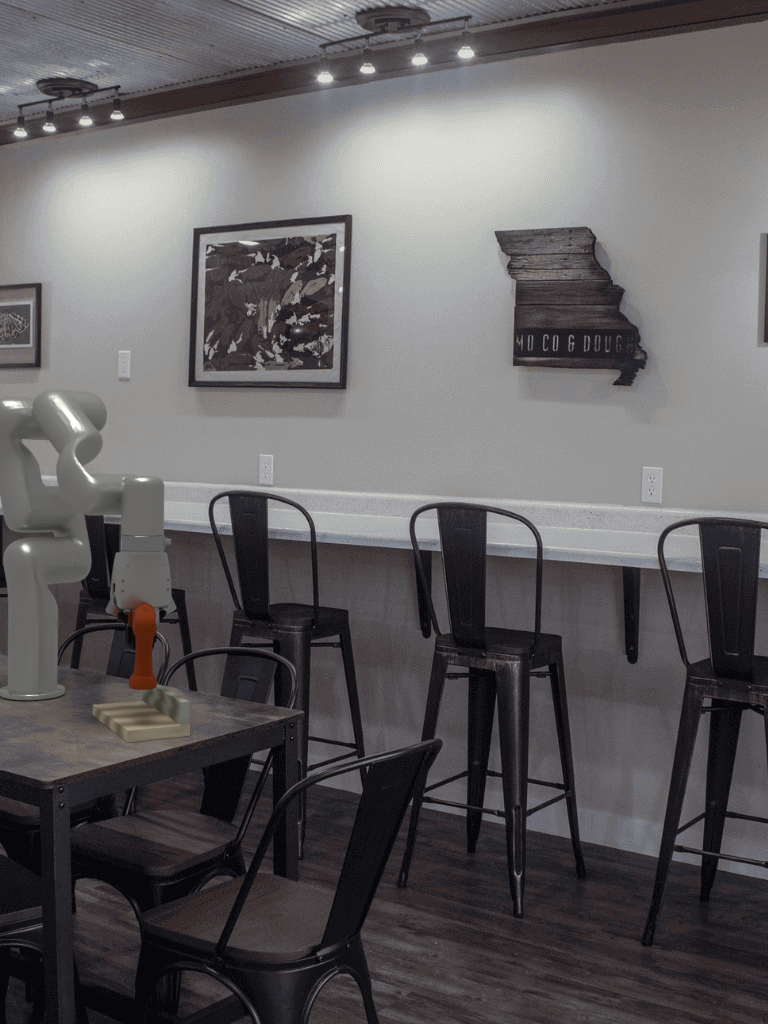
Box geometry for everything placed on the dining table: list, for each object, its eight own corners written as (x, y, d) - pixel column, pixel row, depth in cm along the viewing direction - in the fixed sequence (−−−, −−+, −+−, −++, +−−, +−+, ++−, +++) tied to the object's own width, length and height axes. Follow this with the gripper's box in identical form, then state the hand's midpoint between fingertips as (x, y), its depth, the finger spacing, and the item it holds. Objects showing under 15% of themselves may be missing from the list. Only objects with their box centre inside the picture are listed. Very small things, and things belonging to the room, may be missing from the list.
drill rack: (92, 715, 204) (93, 683, 204) (149, 709, 210) (150, 678, 209) (127, 742, 185) (128, 707, 185) (190, 735, 191) (190, 701, 190)
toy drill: (152, 662, 207) (155, 584, 205) (157, 695, 189) (161, 610, 187) (126, 662, 206) (128, 584, 204) (128, 695, 188) (132, 610, 186)
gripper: (178, 543, 203) (177, 641, 204) (91, 544, 195) (90, 647, 196) (192, 546, 197) (191, 647, 197) (103, 547, 189) (102, 653, 189)
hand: (140, 646), depth 197 cm, fingers closed on toy drill, 2 cm apart
